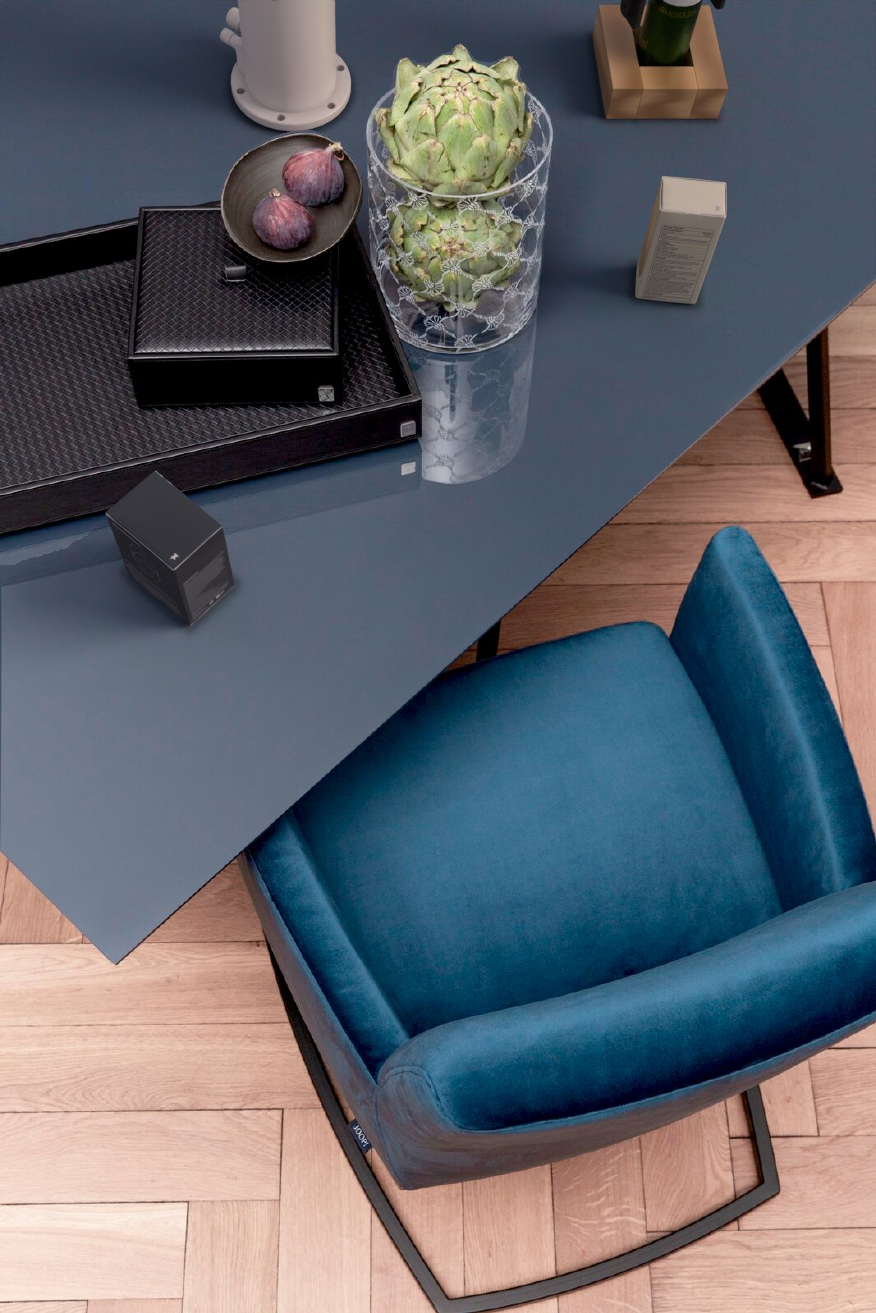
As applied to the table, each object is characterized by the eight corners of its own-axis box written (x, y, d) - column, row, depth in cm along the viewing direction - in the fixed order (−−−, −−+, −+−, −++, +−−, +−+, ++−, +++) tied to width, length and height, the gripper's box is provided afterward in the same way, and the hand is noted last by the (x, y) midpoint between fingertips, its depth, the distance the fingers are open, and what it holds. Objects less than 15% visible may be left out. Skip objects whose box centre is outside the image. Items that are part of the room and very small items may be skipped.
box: (236, 585, 105) (224, 525, 96) (189, 628, 103) (172, 572, 94) (173, 531, 107) (154, 467, 97) (125, 573, 105) (102, 512, 95)
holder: (605, 119, 130) (613, 88, 126) (592, 36, 134) (598, 4, 131) (717, 119, 131) (728, 88, 127) (700, 37, 135) (709, 5, 132)
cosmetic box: (696, 272, 122) (730, 181, 111) (695, 306, 120) (730, 218, 109) (633, 264, 122) (661, 172, 111) (631, 298, 120) (660, 209, 109)
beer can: (687, 86, 132) (718, -12, 121) (647, 102, 131) (674, 4, 120) (661, 54, 134) (688, -46, 123) (620, 69, 133) (644, -31, 122)
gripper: (782, -199, 112) (728, -31, 128) (614, -166, 109) (581, 2, 124) (820, -148, 109) (761, 17, 125) (650, -112, 106) (611, 53, 122)
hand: (671, 10), depth 125 cm, fingers open, 9 cm apart
